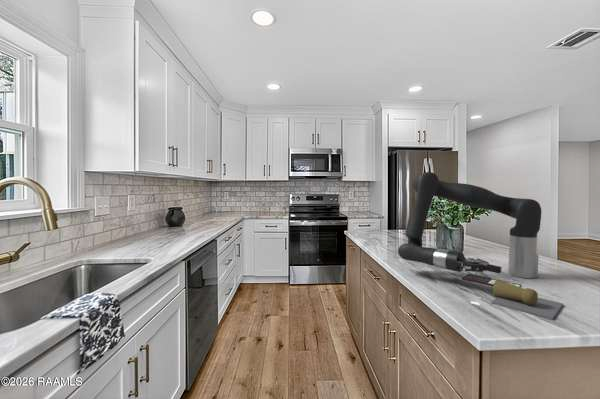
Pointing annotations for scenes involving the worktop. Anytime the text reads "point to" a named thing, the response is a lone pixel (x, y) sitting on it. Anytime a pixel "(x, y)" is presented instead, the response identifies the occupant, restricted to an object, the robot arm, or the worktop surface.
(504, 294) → the cork
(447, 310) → the worktop surface
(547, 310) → the mat
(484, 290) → the worktop surface
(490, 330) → the worktop surface
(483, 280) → the chocolate bar
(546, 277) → the worktop surface
